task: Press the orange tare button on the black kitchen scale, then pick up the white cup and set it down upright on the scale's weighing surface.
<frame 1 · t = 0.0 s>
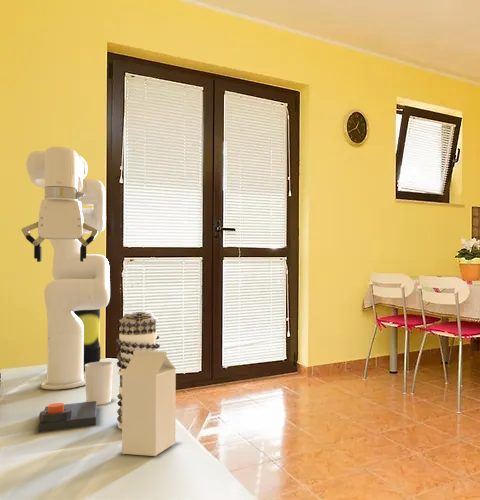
hand: (60, 261, 132), 37 cm above the table, tool pointing down, fingers open, 9 cm apart
scale: (69, 419, 119), on the table
tare button: (56, 408, 114), point 4 cm above the table, slide at 0.1 cm
decorative candle: (137, 424, 116), on the table
container: (83, 368, 177), on the table
milk carton: (149, 450, 100), on the table
white cup: (98, 403, 134), on the table
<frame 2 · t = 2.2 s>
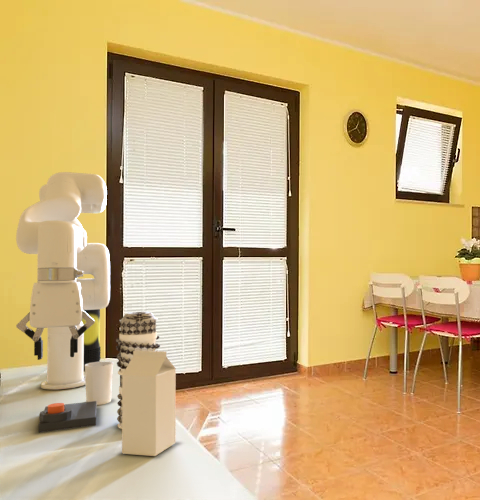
hand: (56, 356, 114), 16 cm above the table, tool pointing down, fingers open, 5 cm apart
nothing on the table moved.
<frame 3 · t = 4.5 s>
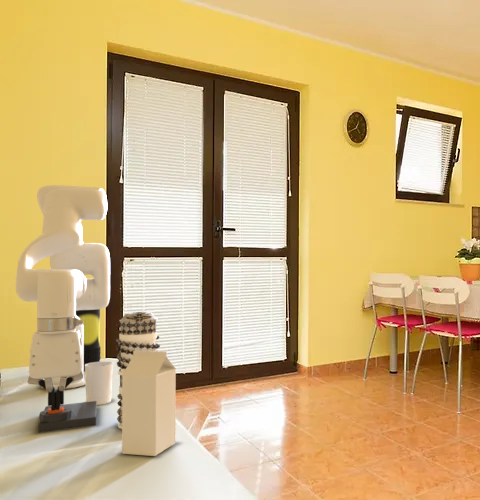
hand: (55, 408, 114), 4 cm above the table, tool pointing down, fingers closed
tare button: (55, 412, 114), point 3 cm above the table, slide at -0.7 cm, touching gripper
everything else where it was.
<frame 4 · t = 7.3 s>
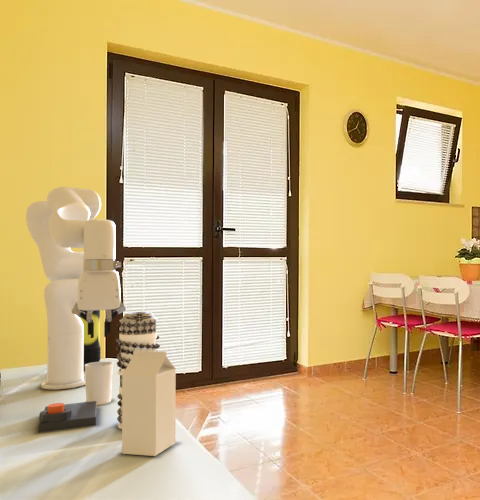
hand: (99, 336, 134), 17 cm above the table, tool pointing down, fingers closed
tare button: (56, 408, 114), point 4 cm above the table, slide at 0.1 cm
everything else where it was.
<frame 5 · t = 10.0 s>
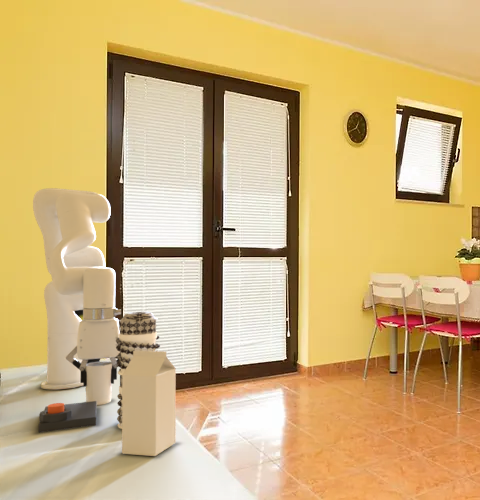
hand: (98, 383, 134), 5 cm above the table, tool pointing down, fingers closed on white cup, 5 cm apart
white cup: (98, 403, 134), on the table, touching gripper
everything else where it was.
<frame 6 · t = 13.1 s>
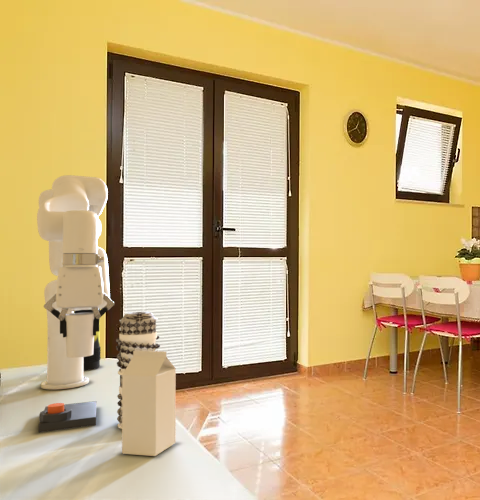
hand: (79, 335, 124), 19 cm above the table, tool pointing down, fingers closed on white cup, 5 cm apart
white cup: (80, 356, 124), point 14 cm above the table, touching gripper
everything else where it was.
when the fingers open (7 cm above the table, at t = 16.3 s): white cup stays where it is, resting on scale.
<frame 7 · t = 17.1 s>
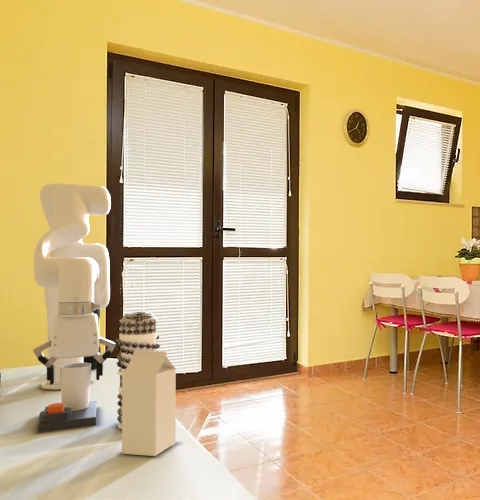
hand: (75, 381, 122), 8 cm above the table, tool pointing down, fingers open, 9 cm apart
white cup: (75, 408, 122), point 2 cm above the table, touching scale
everything else where it was.
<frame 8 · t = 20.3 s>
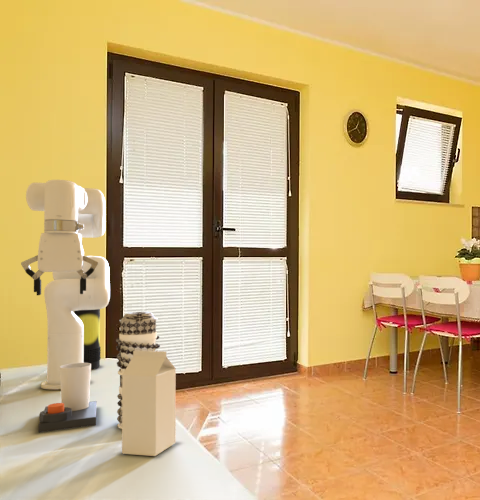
hand: (60, 294, 132), 28 cm above the table, tool pointing down, fingers open, 9 cm apart
nothing on the table moved.
at the end: tare button pushed in 0.9 cm at the most during the clip and back out by the end; white cup inside the target area on the scale (3.2 cm from its centre), point 1.7 cm above the scale's base; white cup touching scale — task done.
